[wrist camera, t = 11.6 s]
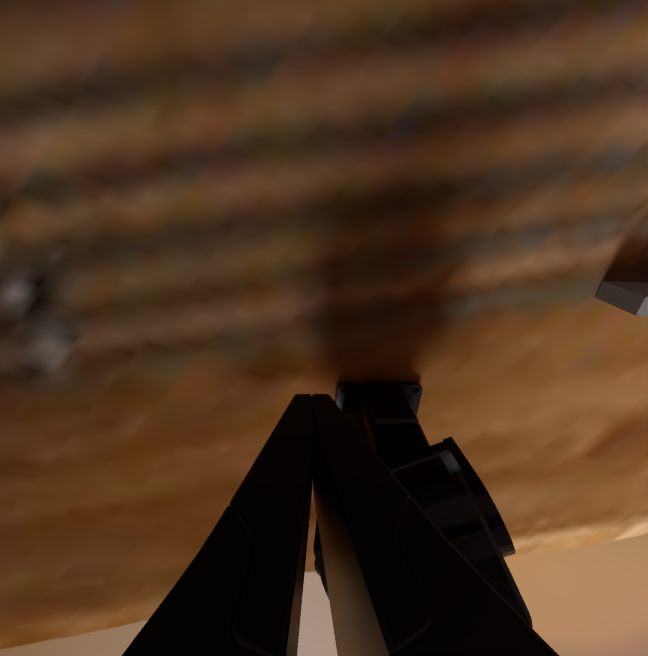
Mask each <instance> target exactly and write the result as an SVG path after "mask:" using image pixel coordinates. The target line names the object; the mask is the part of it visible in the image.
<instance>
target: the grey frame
mask: <svg viewBox="0 0 648 656" xmlns="http://www.w3.org/2000/svg"><path fill="white" fill-rule="evenodd" d="M595 298H597V299H600V300H602V301H604V302H607V303H609V304H611V305H613V306H616V307H618V308H620V309H622V310H625V311H627V312H629V313H632V314H634V315H646V316H648V282H619V281H602V284H601V286H600V288H599V290H598V292H597V294H596V296H595Z"/></svg>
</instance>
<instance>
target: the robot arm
mask: <svg viewBox="0 0 648 656" xmlns="http://www.w3.org/2000/svg"><path fill="white" fill-rule="evenodd" d="M343 388H346V390H341V389H343ZM414 388H417V389H415V390H413V389H414ZM421 394H422V387H421V385H420V383H418V382H343V383H340V384H339V385H338V386H337V393H336V403H335V402H334V400H333V399H332V398H331V397H330V395H328V394H314V395H313V396H311V395H310V394H296V395H295V396H294V397H293V399H292V400H291V402H290V404H289V405H288V407H287V409H286V410H285V412H284V414H283V415H282V417H281V419H280V420H279V422H278V424H277V425H276V427H275V429H274V430H273V432H272V434H271V435H270V437H269V439H268V440H267V442H266V443H265V445H264V447H263V448H262V450H261V452H260V453H259V455H258V457H257V458H256V460H255V462H254V463H253V465H252V467H251V468H250V470H249V472H248V473H247V475H246V477H245V478H244V480H243V482H242V483H241V485H240V487H239V488H238V490H237V491H236V493H235V495H234V496H233V498H232V500H231V501H230V506H228V507H227V508H226V509H225V511H224V513H223V514H222V516H221V518H220V519H219V521H218V523H217V524H216V526H215V527H214V529H213V530H212V532H211V534H210V535H209V537H208V538H207V540H206V541H205V543H204V544H203V546H202V547H201V549H200V551H199V552H198V554H197V555H196V556H195V558H194V559H193V561H192V562H191V563H190V565H189V566H188V567H187V569H186V570H185V572H184V573H183V574H182V576H181V577H180V579H179V580H178V581H177V583H176V584H175V586H174V587H173V588H172V590H171V591H170V592H169V594H168V595H167V596H166V598H165V599H164V600H163V601H162V603H161V604H160V605H159V607H158V608H157V609H156V611H155V612H154V613H153V615H152V616H151V617H150V619H149V620H148V621H147V623H146V624H145V625H144V627H143V628H142V629H141V631H140V632H139V633H138V635H137V636H136V637H135V639H134V640H133V641H132V643H131V644H130V645H129V647H128V648H127V649H126V651H125V652H124V653H123V655H122V656H297V648H298V637H299V627H300V626H299V625H300V616H301V604H302V593H303V583H304V572H305V561H306V550H307V539H308V528H309V517H310V506H311V494H312V481H313V492H314V500H315V507H316V513H317V522H316V531H315V540H314V554H315V557H316V558H315V562H314V564H315V570H316V572H317V574H319V575H320V576H321V580H322V584H323V586H324V589H325V592H326V594H327V596H328V598H329V600H330V607H331V614H332V620H333V627H334V633H335V641H336V647H337V654H338V656H559V655H558V654H557V653H556V652H555V651H554V650H553V649H552V648H551V647H550V646H549V645H548V644H547V643H546V642H545V641H544V640H543V639H542V638H541V637H540V636H539V635H538V634H537V633H536V632H535V631H534V630H533V629H532V620H531V616H530V614H529V611H528V609H527V607H526V605H525V603H524V600H523V598H522V596H521V594H520V592H519V590H518V588H517V585H516V583H515V581H514V579H513V577H512V575H511V573H510V571H509V568H508V566H507V564H506V562H505V560H504V558H503V557H506V556H509V555H512V554H515V549H514V546H513V543H512V540H511V538H510V535H509V533H508V531H507V529H506V526H505V524H504V522H503V520H502V518H501V516H500V514H499V512H498V510H497V508H496V506H495V504H494V502H493V500H492V499H491V497H490V495H489V493H488V491H487V490H486V488H485V486H484V484H483V483H482V481H481V480H480V478H479V477H478V475H477V474H476V472H475V471H474V469H473V468H472V466H471V465H470V463H469V462H468V460H467V459H466V458H465V456H464V455H463V453H462V452H461V450H460V449H459V447H458V446H457V444H456V443H455V441H454V440H453V438H452V437H449V438H446V439H443V442H440V443H437V444H434V445H432V446H430V445H429V443H428V441H427V439H426V437H425V434H424V432H423V430H422V428H421V426H420V424H419V422H418V418H417V416H416V415H417V411H418V407H419V402H420V398H421Z"/></svg>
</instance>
